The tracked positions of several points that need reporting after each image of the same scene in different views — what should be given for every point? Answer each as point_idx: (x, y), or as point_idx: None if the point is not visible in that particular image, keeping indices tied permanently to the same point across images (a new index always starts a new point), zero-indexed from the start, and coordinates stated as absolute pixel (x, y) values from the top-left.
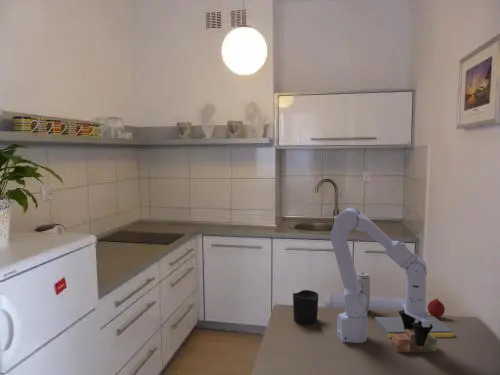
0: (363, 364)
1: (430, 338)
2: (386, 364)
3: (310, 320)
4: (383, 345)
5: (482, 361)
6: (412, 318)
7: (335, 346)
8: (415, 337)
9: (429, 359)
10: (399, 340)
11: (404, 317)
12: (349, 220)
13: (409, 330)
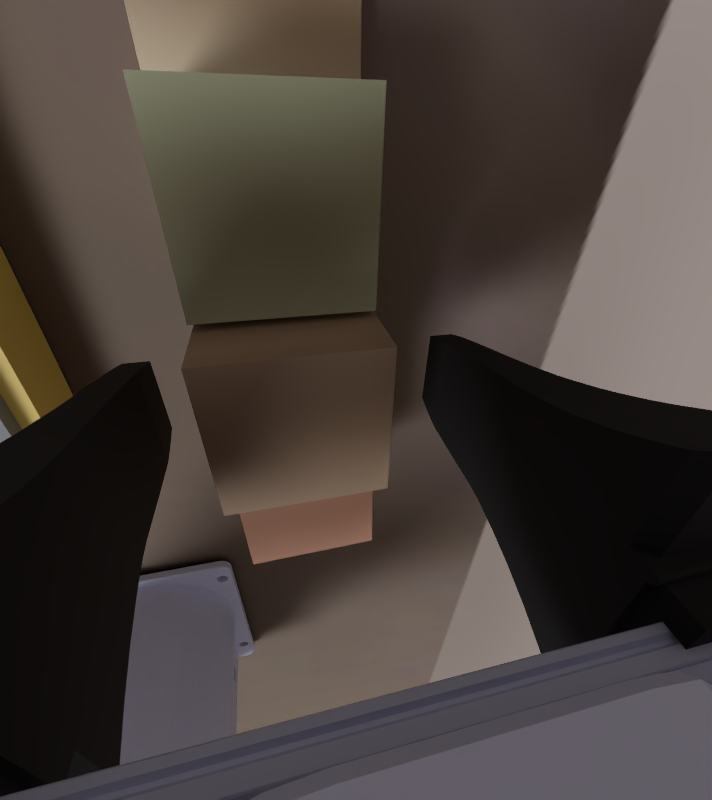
0: (424, 580)
1: (361, 199)
2: (441, 511)
3: None
4: (216, 501)
5: None
6: (49, 555)
7: (263, 658)
8: (462, 466)
9: (433, 244)
10: (371, 524)
11: (111, 674)
12: None
13: (264, 481)
